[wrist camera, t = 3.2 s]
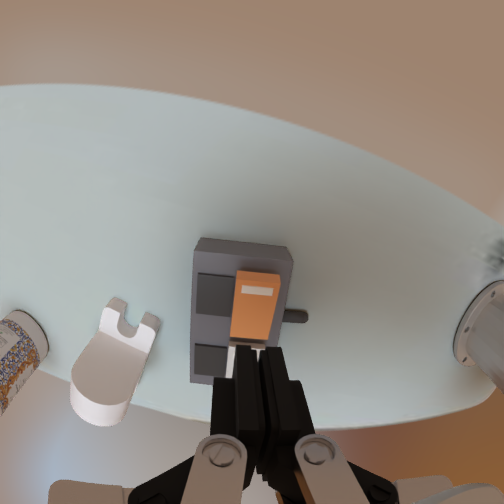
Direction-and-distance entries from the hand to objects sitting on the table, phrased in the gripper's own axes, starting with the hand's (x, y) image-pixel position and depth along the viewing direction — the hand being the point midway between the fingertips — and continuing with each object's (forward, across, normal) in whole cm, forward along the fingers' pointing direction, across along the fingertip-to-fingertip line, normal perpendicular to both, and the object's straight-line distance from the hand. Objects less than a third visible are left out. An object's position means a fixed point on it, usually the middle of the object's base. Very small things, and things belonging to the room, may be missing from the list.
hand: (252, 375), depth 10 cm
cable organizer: (+15, +11, +11) cm, 21 cm away
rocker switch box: (+14, -2, +5) cm, 15 cm away
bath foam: (+15, +25, +13) cm, 32 cm away
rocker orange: (+9, -1, +2) cm, 10 cm away
